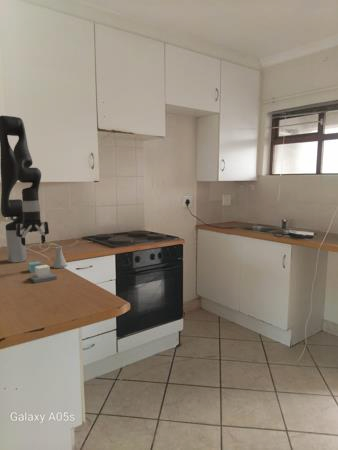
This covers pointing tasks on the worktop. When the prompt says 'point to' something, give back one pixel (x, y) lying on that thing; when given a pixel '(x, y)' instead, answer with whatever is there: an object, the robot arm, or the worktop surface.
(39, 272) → the white brick
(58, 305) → the worktop surface
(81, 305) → the worktop surface
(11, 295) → the worktop surface
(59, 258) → the flask
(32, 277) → the base plate
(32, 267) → the teal brick
